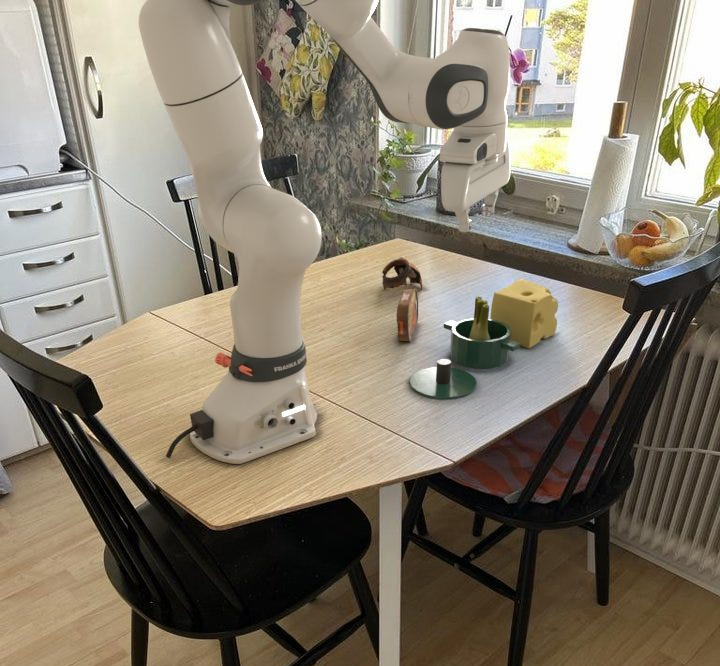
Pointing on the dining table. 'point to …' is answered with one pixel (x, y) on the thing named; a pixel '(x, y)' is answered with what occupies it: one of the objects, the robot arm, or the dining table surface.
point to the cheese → (526, 311)
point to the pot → (480, 345)
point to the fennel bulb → (480, 320)
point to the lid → (443, 381)
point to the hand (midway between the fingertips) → (476, 223)
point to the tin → (407, 314)
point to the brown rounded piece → (401, 274)
